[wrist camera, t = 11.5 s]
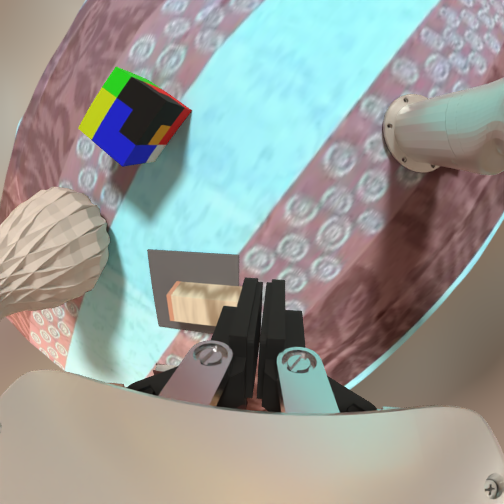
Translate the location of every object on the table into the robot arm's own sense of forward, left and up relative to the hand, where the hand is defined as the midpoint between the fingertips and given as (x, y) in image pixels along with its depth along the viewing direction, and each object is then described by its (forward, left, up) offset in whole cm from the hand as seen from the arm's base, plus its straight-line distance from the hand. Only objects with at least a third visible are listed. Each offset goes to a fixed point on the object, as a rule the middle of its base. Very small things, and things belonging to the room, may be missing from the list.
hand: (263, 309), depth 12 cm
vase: (+36, +7, -31) cm, 48 cm away
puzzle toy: (+20, -12, -31) cm, 39 cm away
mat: (+13, +18, -31) cm, 38 cm away
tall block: (+4, +18, -28) cm, 34 cm away
